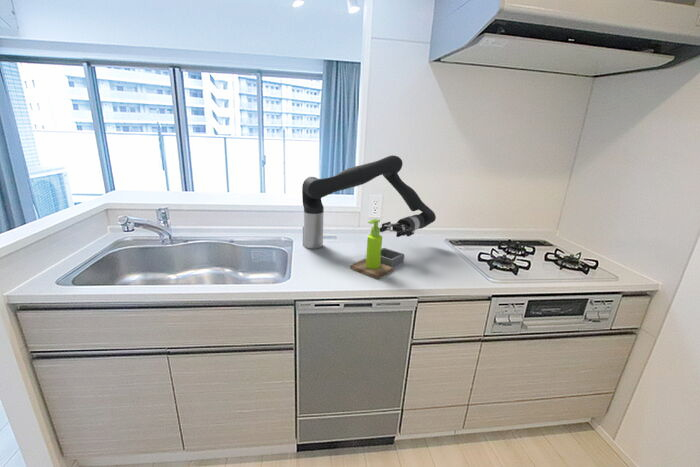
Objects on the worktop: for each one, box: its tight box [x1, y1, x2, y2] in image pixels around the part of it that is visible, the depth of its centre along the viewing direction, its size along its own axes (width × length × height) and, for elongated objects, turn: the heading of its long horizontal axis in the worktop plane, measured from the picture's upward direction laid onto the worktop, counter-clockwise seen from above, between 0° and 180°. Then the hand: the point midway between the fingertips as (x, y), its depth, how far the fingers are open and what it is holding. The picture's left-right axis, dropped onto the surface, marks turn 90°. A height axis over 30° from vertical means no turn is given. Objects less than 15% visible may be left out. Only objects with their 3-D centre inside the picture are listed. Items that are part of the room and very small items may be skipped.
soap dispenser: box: [365, 218, 383, 269], centre depth 129 cm, size 6×7×20 cm
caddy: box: [380, 247, 405, 269], centre depth 140 cm, size 11×10×4 cm
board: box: [349, 258, 394, 280], centre depth 132 cm, size 14×11×2 cm
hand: (388, 232), depth 136 cm, fingers open, 8 cm apart
